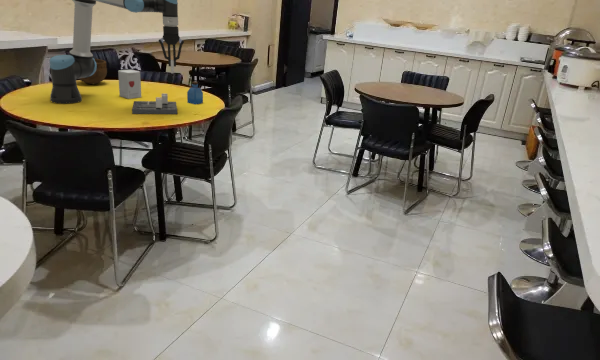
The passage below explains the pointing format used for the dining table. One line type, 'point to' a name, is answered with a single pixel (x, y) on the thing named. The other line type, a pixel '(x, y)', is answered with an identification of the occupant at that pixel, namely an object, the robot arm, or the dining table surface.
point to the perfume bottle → (195, 94)
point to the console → (153, 108)
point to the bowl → (97, 73)
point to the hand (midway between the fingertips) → (172, 72)
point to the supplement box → (129, 83)
